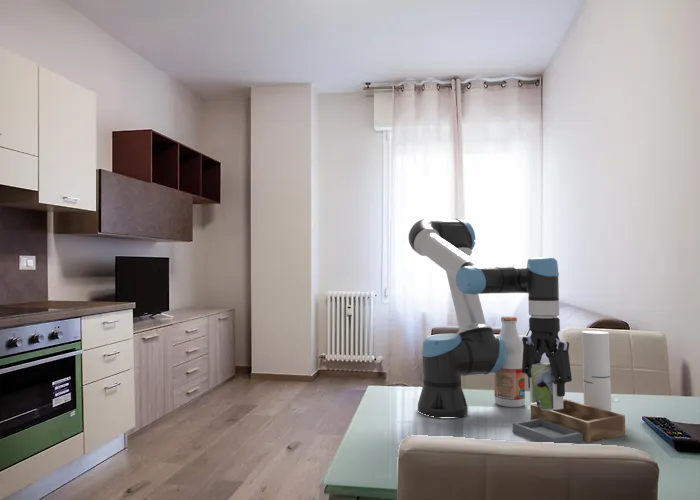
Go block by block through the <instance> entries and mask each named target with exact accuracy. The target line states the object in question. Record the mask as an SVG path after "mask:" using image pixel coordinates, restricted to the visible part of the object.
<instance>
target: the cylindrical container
mask: <svg viewBox="0 0 700 500" xmlns="http://www.w3.org/2000/svg"><path fill="white" fill-rule="evenodd" d="M581 348H582V380H583V381H582V384H583V385H582V386H583V404H585V405H589V406H592V407H596V408H600V409H603V410H607V411H610V412H612V387H611V384H612V383H611V359H610V358H611V357H610V356H611V355H610V354H611V353H610V332H608V331H604V330H603V331H602V330H601V331H600V330H582V331H581Z"/></svg>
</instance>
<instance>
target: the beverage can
mask: <svg viewBox="0 0 700 500" xmlns="http://www.w3.org/2000/svg"><path fill="white" fill-rule="evenodd" d="M531 376H532V381H533V386H534V391H535V397H536V402H535V403H536V404H537V407H539V408H541V410H547V411H549V410H555V409H553V382H555V379H554V376H553V372H552V369H551V366H550V362H549V361H545V362H544V361H542V362H540V363H537V364H532V368H531Z"/></svg>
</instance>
